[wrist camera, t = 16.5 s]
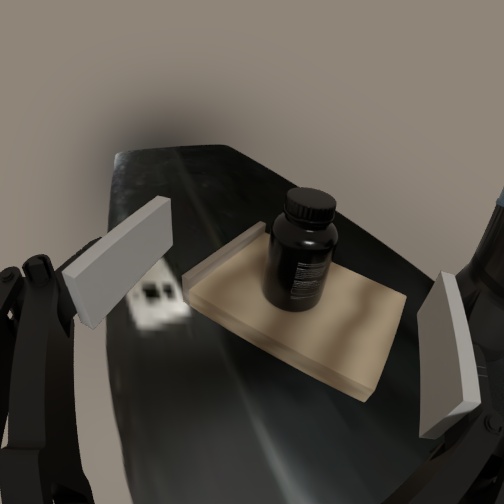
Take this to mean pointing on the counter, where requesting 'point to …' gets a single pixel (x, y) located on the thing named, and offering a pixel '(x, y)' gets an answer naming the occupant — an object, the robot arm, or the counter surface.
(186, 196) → the counter surface
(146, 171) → the counter surface
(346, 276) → the shelf board
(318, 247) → the supplement bottle
